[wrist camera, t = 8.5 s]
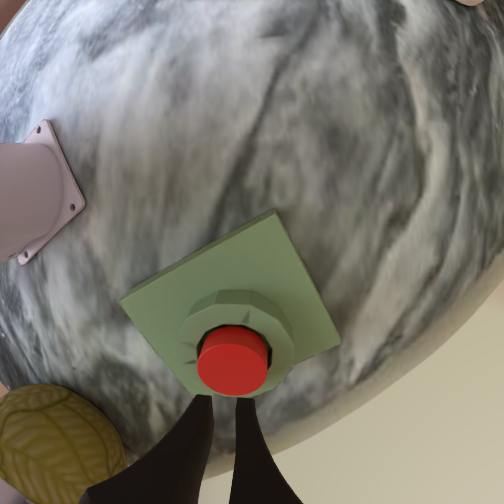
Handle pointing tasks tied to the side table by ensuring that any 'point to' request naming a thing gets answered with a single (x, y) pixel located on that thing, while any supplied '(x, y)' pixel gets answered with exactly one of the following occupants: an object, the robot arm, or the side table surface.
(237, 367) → the button
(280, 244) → the button box
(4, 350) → the side table surface
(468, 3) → the can
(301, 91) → the side table surface
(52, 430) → the decorative sculpture
